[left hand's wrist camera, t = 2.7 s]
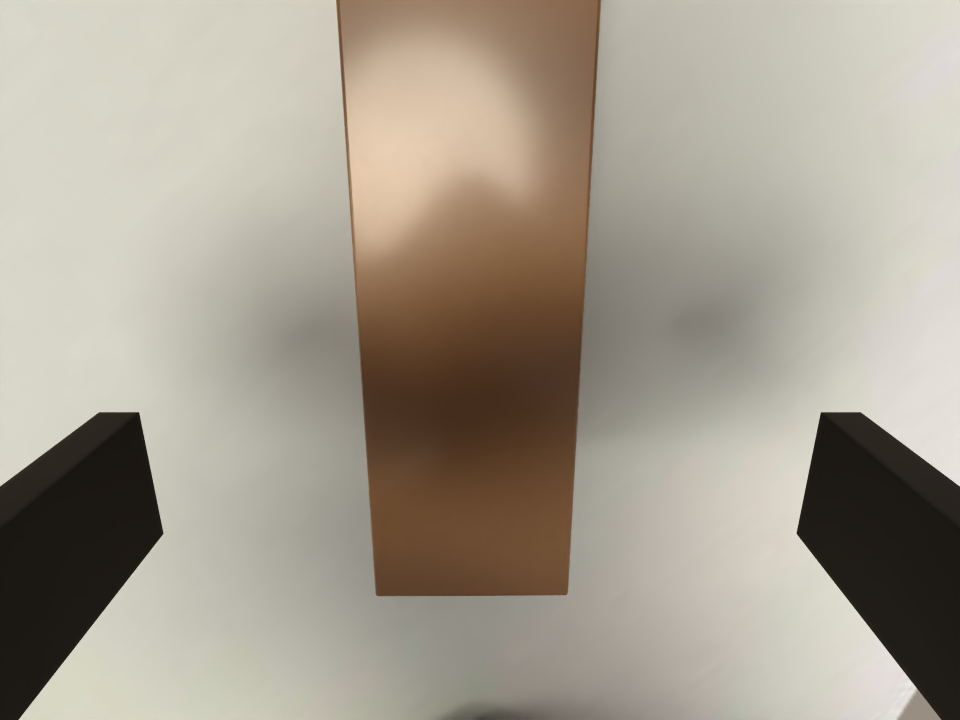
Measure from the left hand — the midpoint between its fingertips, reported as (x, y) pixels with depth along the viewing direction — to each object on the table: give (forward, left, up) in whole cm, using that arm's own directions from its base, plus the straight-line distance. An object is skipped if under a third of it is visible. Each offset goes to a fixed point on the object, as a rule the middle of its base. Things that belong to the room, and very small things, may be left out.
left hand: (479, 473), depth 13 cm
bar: (+6, +2, -10) cm, 12 cm away
